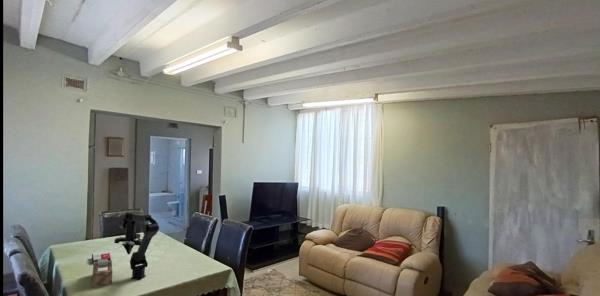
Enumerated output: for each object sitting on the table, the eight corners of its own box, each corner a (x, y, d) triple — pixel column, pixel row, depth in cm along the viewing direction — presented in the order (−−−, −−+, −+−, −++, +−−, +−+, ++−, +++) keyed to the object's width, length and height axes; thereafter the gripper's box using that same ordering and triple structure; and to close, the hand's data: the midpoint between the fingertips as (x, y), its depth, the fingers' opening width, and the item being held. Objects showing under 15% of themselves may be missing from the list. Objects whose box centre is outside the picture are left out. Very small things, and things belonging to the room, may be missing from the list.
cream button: (107, 271, 202) (107, 266, 202) (107, 274, 198) (107, 269, 198) (97, 273, 200) (97, 268, 200) (97, 275, 195) (97, 270, 195)
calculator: (92, 259, 228) (92, 252, 240) (92, 265, 228) (91, 258, 240) (110, 257, 234) (109, 250, 246) (110, 263, 234) (108, 256, 247)
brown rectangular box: (110, 272, 215) (111, 259, 216) (111, 284, 196) (112, 270, 197) (92, 274, 210) (93, 261, 210) (91, 287, 191) (92, 273, 192)
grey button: (107, 263, 212) (107, 258, 212) (107, 266, 207) (107, 261, 207) (97, 264, 209) (98, 259, 209) (97, 267, 205) (98, 262, 205)
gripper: (150, 229, 224) (149, 252, 224) (125, 226, 227) (124, 249, 226) (140, 232, 213) (138, 256, 213) (114, 230, 216) (112, 254, 215)
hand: (128, 254), depth 217 cm, fingers closed
